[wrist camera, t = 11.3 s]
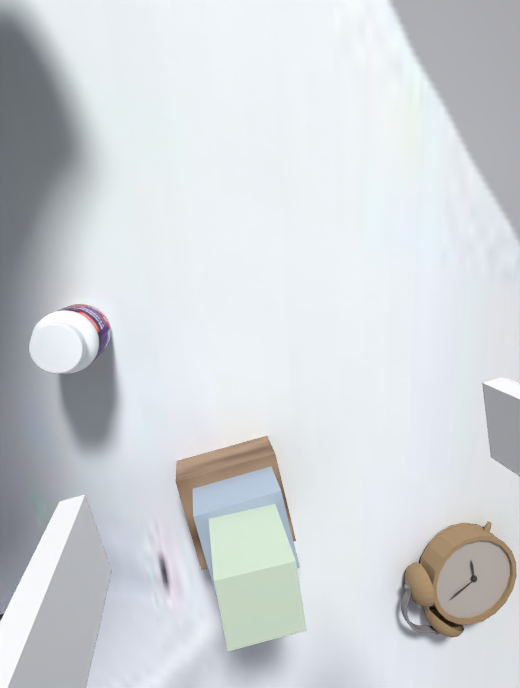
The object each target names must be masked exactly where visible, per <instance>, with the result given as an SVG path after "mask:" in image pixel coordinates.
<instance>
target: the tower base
mask: <svg viewBox="0 0 520 688" xmlns="http://www.w3.org/2000/svg"><path fill="white" fill-rule="evenodd" d="M270 466H271V467H272V469H273V472H274V474H275V477H276V479H277V482H278V484H279V486H280V489H281V492H282V496H283V500H284V504H285V509H286V513H287V517H288V521H289V525H290V529H291V534H292V538H293V541H296V539H295V535H294V531H293V527H292V522H291V518H290V514H289V510H288V506H287V502H286V497H285V493H284V489H283V485H282V481H281V476H280V472H279V468H278V464H277V460H276V456H275V452H274V450H273V448H272V446H271V444H270V441H269V439H268V437H267V436H265V437H261V438H258V439H254V440H251V441H247V442H243V443H240V444H236V445H233V446H229V447H226V448H222V449H218V450H215V451H211V452H208V453H204V454H201V455H197V456H193V457H190V458H186V459H183V460H179V461H177V468H176V484H177V488H178V491H179V494H180V498H181V501H182V505H183V508H184V511H185V515H186V518H187V522H188V525H189V529H190V532H191V535H192V539H193V542H194V546H195V549H196V552H197V556H198V559H199V563H200V566H201V569H205V568H208V566H207V563H206V559H205V556H204V552H203V549H202V545H201V542H200V538H199V535H198V532H197V528H196V525H195V521H194V518H193V489H194V488H197V487H201V486H204V485H208V484H211V483H215V482H218V481H222V480H225V479H229V478H232V477H236V476H239V475H242V474H246V473H249V472H253V471H256V470H260V469H263V468H267V467H270Z"/></svg>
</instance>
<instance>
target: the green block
mask: <svg viewBox="0 0 520 688" xmlns="http://www.w3.org/2000/svg"><path fill="white" fill-rule="evenodd" d="M209 531H210V542H211V554H212V566H213V578H214V585H215V590H216V595H217V600H218V605H219V610H220V615H221V620H222V625H223V630H224V635H225V640H226V645H227V650H228V651H231V650H235V649H239V648H243V647H246V646H250V645H254V644H258V643H262V642H265V641H269V640H273V639H277V638H281V637H284V636H288V635H292V634H296V633H300V632H303V631H307V630H306V624H305V617H304V611H303V604H302V598H301V591H300V585H299V578H298V572H297V565H296V560H295V557H294V555H293V552H292V549H291V546H290V544H289V541H288V538H287V535H286V532H285V530H284V527H283V524H282V521H281V519H280V516H279V513H278V510H277V507H276V505H275V504H272V505H267V506H263V507H258V508H254V509H250V510H245V511H241V512H236V513H232V514H228V515H223V516H219V517H214V518H210V519H209Z"/></svg>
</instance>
